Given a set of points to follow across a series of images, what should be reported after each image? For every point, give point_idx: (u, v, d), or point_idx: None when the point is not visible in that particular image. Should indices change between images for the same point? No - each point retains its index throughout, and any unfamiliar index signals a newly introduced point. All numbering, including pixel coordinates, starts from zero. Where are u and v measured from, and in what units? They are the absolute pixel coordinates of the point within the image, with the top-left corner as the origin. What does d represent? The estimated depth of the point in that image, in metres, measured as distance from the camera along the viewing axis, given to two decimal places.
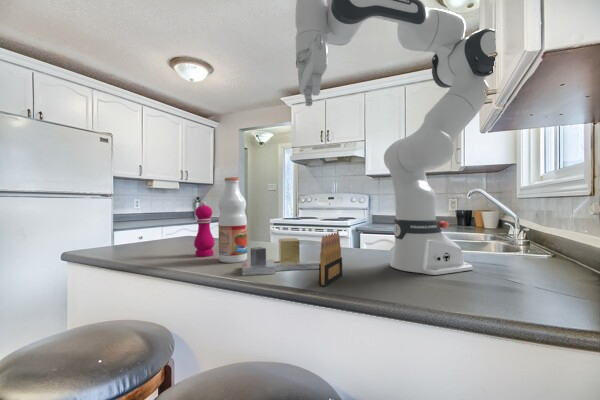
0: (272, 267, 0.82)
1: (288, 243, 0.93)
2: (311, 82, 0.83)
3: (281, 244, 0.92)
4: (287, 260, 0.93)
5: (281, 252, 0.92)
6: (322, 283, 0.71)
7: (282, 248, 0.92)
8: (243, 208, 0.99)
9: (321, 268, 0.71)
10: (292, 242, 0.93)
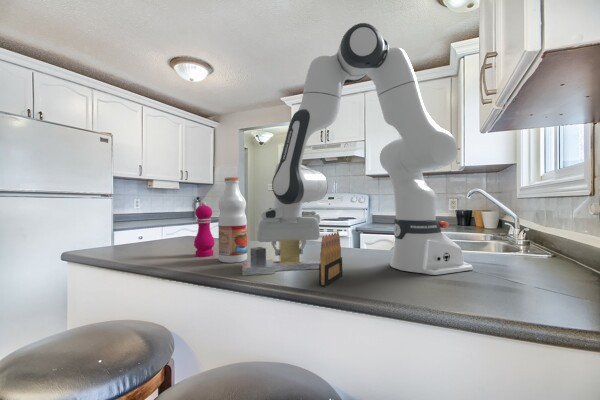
0: (272, 267, 0.82)
1: (288, 243, 0.93)
2: None
3: (281, 244, 0.92)
4: (287, 260, 0.93)
5: (281, 252, 0.92)
6: (322, 283, 0.71)
7: (282, 248, 0.92)
8: (243, 208, 0.99)
9: (321, 268, 0.71)
10: (292, 242, 0.93)
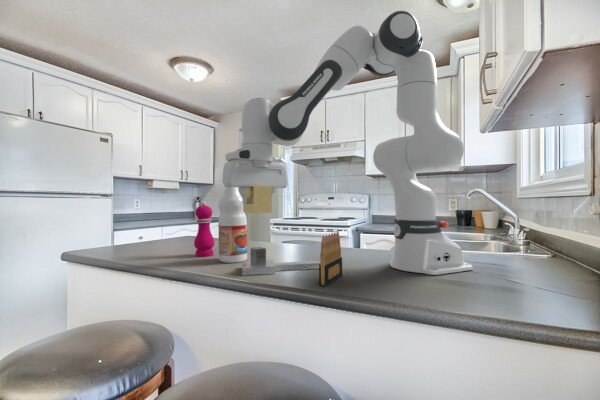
0: (272, 267, 0.82)
1: (261, 189, 0.84)
2: None
3: (254, 189, 0.82)
4: (260, 207, 0.83)
5: (254, 198, 0.82)
6: (322, 283, 0.71)
7: (255, 194, 0.82)
8: None
9: (321, 268, 0.71)
10: (265, 188, 0.84)
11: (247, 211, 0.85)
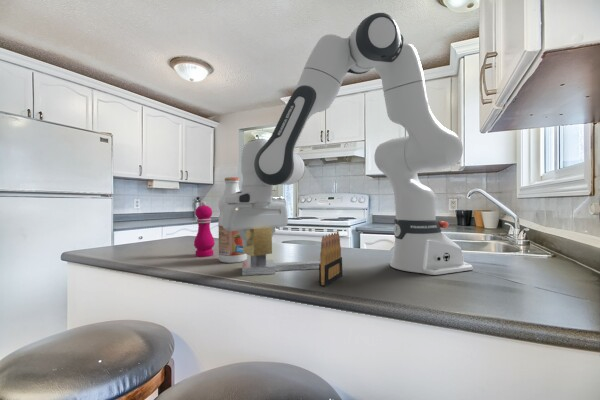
0: (272, 267, 0.82)
1: (261, 231, 0.83)
2: None
3: (254, 232, 0.82)
4: (260, 250, 0.83)
5: (254, 241, 0.82)
6: (322, 283, 0.71)
7: (255, 236, 0.82)
8: None
9: (321, 268, 0.71)
10: (265, 229, 0.84)
11: (247, 253, 0.84)
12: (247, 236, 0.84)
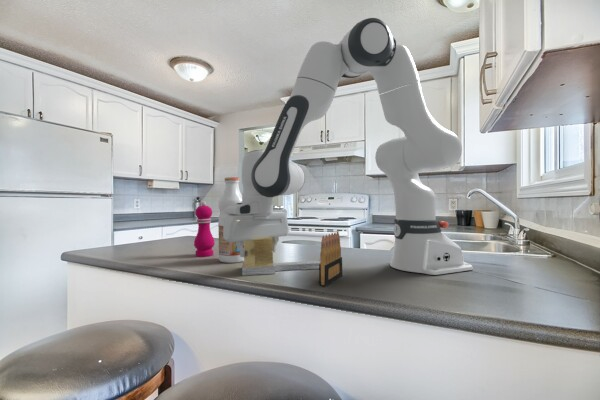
0: (272, 267, 0.82)
1: (262, 241, 0.83)
2: None
3: (255, 243, 0.82)
4: (261, 260, 0.83)
5: (255, 252, 0.82)
6: (322, 283, 0.71)
7: (256, 248, 0.82)
8: None
9: (321, 268, 0.71)
10: (266, 240, 0.84)
11: (248, 263, 0.85)
12: (248, 247, 0.84)
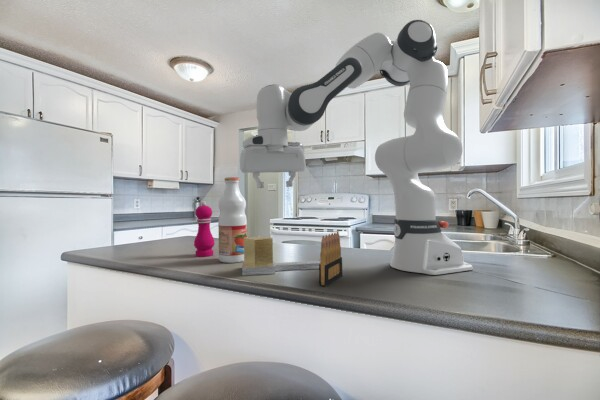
0: (272, 267, 0.82)
1: (262, 241, 0.83)
2: None
3: (255, 243, 0.82)
4: (261, 260, 0.83)
5: (255, 252, 0.82)
6: (322, 283, 0.71)
7: (256, 248, 0.82)
8: (243, 208, 0.99)
9: (321, 268, 0.71)
10: (266, 240, 0.84)
11: (248, 263, 0.85)
12: (248, 247, 0.84)
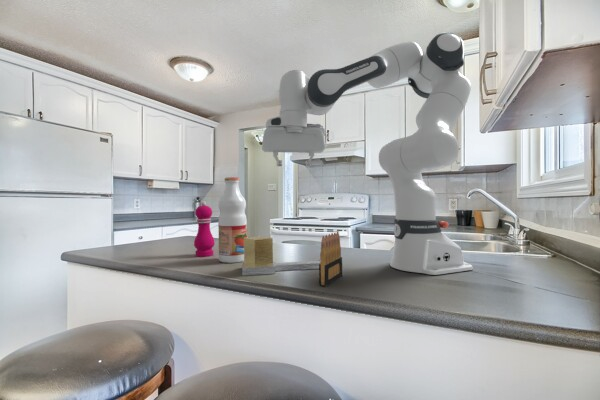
0: (272, 267, 0.82)
1: (262, 241, 0.83)
2: None
3: (255, 243, 0.82)
4: (261, 260, 0.83)
5: (255, 252, 0.82)
6: (322, 283, 0.71)
7: (256, 248, 0.82)
8: (243, 208, 0.99)
9: (321, 268, 0.71)
10: (266, 240, 0.84)
11: (248, 263, 0.85)
12: (248, 247, 0.84)
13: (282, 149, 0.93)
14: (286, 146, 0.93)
